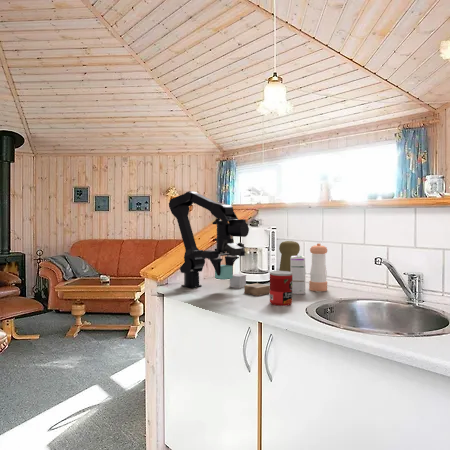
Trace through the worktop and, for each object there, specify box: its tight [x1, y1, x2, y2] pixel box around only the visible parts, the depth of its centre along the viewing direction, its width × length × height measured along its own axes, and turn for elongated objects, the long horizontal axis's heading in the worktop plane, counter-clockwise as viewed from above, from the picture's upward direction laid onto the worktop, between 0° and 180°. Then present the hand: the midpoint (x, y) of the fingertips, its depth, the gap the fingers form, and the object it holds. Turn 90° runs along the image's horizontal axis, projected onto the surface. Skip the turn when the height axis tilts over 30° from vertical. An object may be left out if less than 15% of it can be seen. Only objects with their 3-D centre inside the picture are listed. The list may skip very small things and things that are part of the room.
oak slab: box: [243, 282, 270, 297], centre depth 160 cm, size 7×7×3 cm
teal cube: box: [214, 264, 234, 280], centre depth 162 cm, size 5×5×5 cm
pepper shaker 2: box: [308, 242, 328, 292], centre depth 167 cm, size 7×7×19 cm
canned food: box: [269, 270, 293, 307], centre depth 142 cm, size 8×8×11 cm
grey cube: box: [229, 273, 247, 289], centre depth 174 cm, size 5×5×5 cm
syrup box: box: [290, 255, 306, 295], centre depth 161 cm, size 6×6×14 cm
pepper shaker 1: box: [278, 240, 301, 272], centre depth 179 cm, size 10×10×19 cm
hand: (223, 274), depth 162 cm, fingers closed on teal cube, 5 cm apart
